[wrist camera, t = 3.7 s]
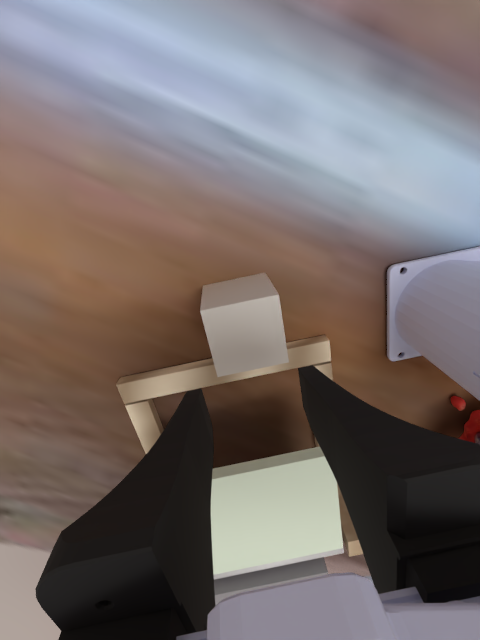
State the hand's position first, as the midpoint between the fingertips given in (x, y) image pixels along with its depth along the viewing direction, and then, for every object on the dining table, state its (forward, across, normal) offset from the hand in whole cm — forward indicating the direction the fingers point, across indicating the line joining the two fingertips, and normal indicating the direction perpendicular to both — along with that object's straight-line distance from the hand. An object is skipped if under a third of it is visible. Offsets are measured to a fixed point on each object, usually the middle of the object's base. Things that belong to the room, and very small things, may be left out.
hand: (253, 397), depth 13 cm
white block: (+10, 0, 0) cm, 11 cm away
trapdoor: (+5, +2, +15) cm, 15 cm away
